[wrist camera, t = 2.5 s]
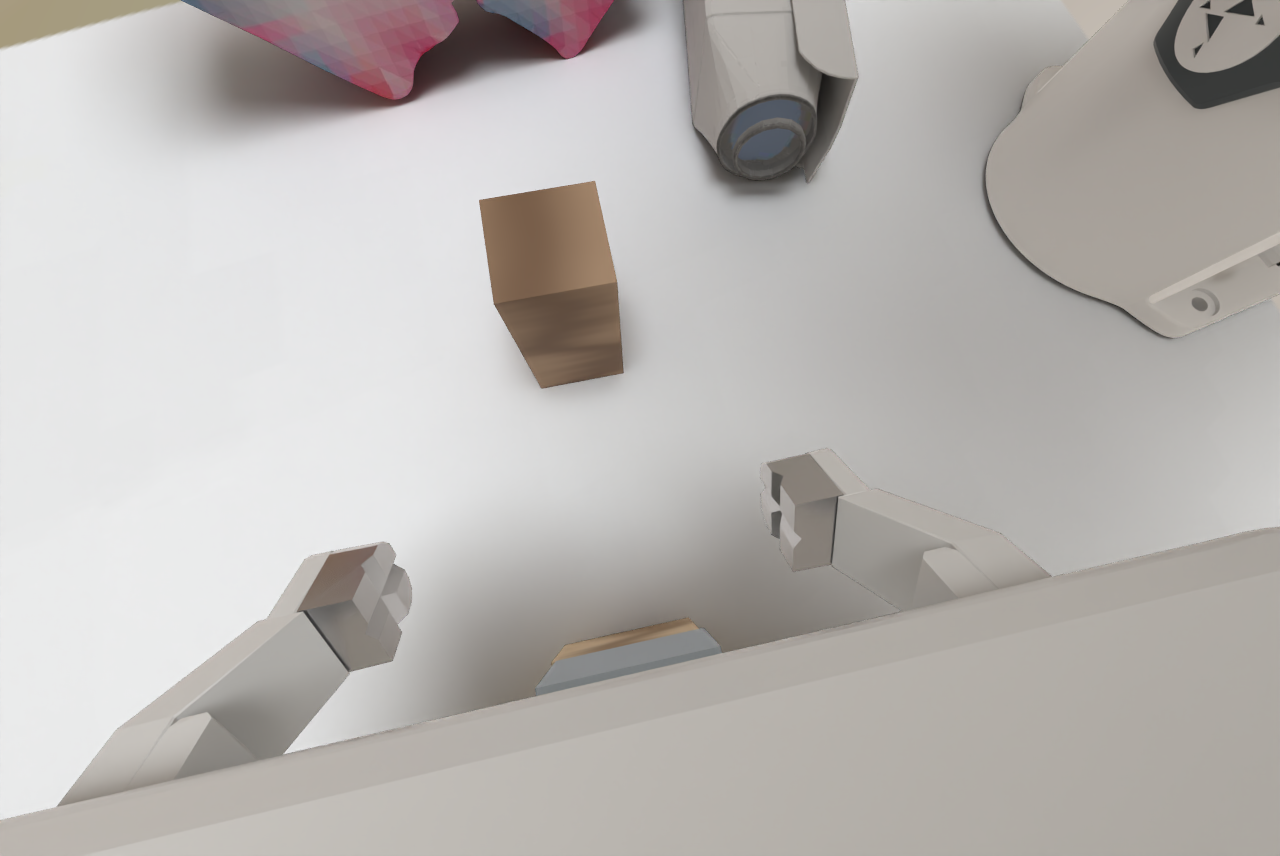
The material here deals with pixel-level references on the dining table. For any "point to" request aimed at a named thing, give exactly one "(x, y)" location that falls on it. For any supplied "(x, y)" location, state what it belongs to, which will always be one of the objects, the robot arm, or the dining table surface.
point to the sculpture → (392, 31)
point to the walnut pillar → (555, 281)
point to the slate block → (628, 660)
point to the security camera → (769, 81)
